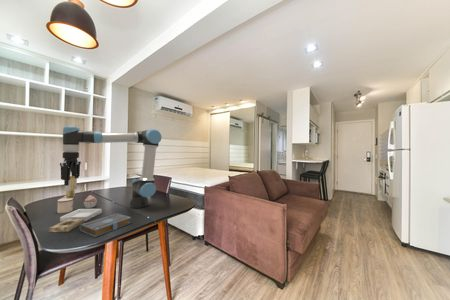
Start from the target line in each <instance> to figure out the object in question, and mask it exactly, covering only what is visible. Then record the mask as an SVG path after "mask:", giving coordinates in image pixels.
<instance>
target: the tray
mask: <svg viewBox="0 0 450 300" xmlns="http://www.w3.org/2000/svg"><path fill="white" fill-rule="evenodd" d="M102 212H103V209H102V208H89V209H87V208H79V209H76V210H72V211H70V212H68V213H66V214H64V215H62V216H60V217H59V223H60V222H62V221H65V220H67V219H83V223H87V222H89V221H91V220H92V219H93V218H95V217H97V216H99V215H101V214H102Z"/></svg>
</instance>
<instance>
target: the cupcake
mask: <svg viewBox="0 0 450 300" xmlns="http://www.w3.org/2000/svg"><path fill="white" fill-rule="evenodd" d="M97 203H98V200H97V198H96V197H95V196H93V195H91V194H90V195H88V196H87V197H86V198H85V199H84V201H83V205H84V209H95V208H96V204H97Z"/></svg>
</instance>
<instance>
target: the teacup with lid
mask: <svg viewBox="0 0 450 300" xmlns="http://www.w3.org/2000/svg"><path fill="white" fill-rule="evenodd" d="M56 209H57V210H56V211H57V214H65V213H66V214H68V213H71V212H73V211H74V198H69V199H66V195H64V196H63V197H62V198H59V199H57V208H56Z"/></svg>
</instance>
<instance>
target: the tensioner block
mask: <svg viewBox="0 0 450 300" xmlns="http://www.w3.org/2000/svg"><path fill="white" fill-rule="evenodd" d="M81 224H84V222H83V219H67V220H65V221H62V222H60V221H59V222H58V223H56V224H55V225H52V226H50V227H49V228H48V233H69V232H70V231H72V230H74V229H75V228H77V227H80V225H81Z"/></svg>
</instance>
